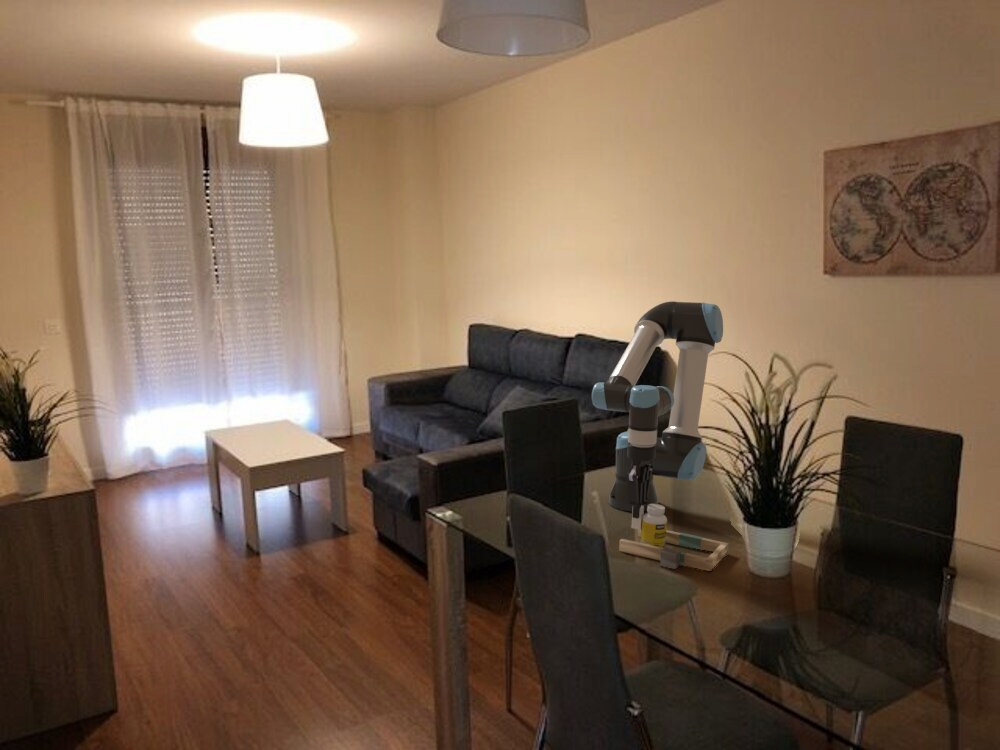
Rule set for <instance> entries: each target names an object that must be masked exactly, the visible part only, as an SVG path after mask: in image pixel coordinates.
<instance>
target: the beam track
mask: <svg viewBox="0 0 1000 750" xmlns="http://www.w3.org/2000/svg"><path fill="white" fill-rule="evenodd" d="M641 530H642V529H641ZM641 530H638V529H637V537H639V538H641ZM665 544H671V545H675V546H679V547H684V548H688V547H689V549H693V548H696V549H695V550H697V549H701V550H700V551H702V550H708V551H714V552H713V553H710V554H709V555H708V557H705V556H701V555H698V554H693V553H688V552H685V551H681V550H677V549H673V548H668V547H664V548H662V547H657V546H653V545H648V544H644V543H640V542H638V541H635V540H630V539H626V538H620V539H619V544H618V545H619V546H618V549H619V550H618V551H619V552H622V553H627V554H629V555H630V554H631V555H635V556H639V557H643V558H648V559H652V560H656V561H660V563H659V565H660V567H661V566H663V567H662V568H665V567H671V568H674V569H675V568H676V567H678V566H679V565H680V566H681V565H685V566H684V567H686V566H689V567H688V568H690V567H696V568H701V569H702V568H703V569H709V570H711V569H712V568H714V566H716V564H717V563H718V562H719V561H720V560H721V559H722V557H723V556H724V555H725V553H726V552H727V551H728V552H729V542H728V543H727V542H724V541H722V540H721V541H720V540H719V541H718V540H714V539H711V538H707V537H702V536H699V535H693V534H689V533H685V532H676V531H672V530H668V529H666V537H665ZM680 566H679V567H680ZM679 567H678V568H679ZM716 567H717V566H716ZM714 569H715V568H714Z"/></svg>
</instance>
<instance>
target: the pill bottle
mask: <svg viewBox="0 0 1000 750" xmlns="http://www.w3.org/2000/svg"><path fill="white" fill-rule="evenodd" d="M665 512H666V507H665V506H664V505H662V504H659V503H658V504H649V505H648V506H647V511H646V513H645V514H644V516H643V520H642V530H641V537H640V542H639V543H644V544H648V545H653V546H657V547H662V548H665V545H666V542H665V537H666V530H667V525H668V519H667V516H666V515H665Z"/></svg>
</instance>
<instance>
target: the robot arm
mask: <svg viewBox="0 0 1000 750" xmlns="http://www.w3.org/2000/svg"><path fill="white" fill-rule="evenodd" d="M633 333H634V334H633V336H632V338H631V339H630V342H629V343H628V345H627V347H626V349H624V352H623V353H622V355H621V357H620V359H619V360H618V362H617V364H616V366H615V367H614V369H613V371H612V372H611V374H610V375H609V378H608V379H607V381H606V382H604V381H603V382H599V381H598V382H596V383H595V384H594V385H593V388H592V391H591V401H592V405H593V406H594V407H595V408H596V409H601V410H606V411H613V412H621V413H623V412H624V413H629V415H628V429H627V431H624V432H621V433H620V434H618V436H617V437H616V446H615V475H614V476H615V479H614V482H613V485H612V488H611V490H610V493H609V495H608V496H609V498H608V504H609V505H610V506H611V507H613V508H615V509H617V510H621V511H625V512H631V524H630V525H631V527H630V528H631V529H634V530H637V531H638V530H641V529H642V520H643V516H644V512H648V511H647V506H648V505H649V504H659V496H658V493H657V490H656V485H655V483H654V476H656V477H661V478H669V479H673V480H678V481H695V480H696V479H697V478H698V477H699V476H700V474H701V473H702V470H703V468H704V465H705V461H706V456H707V446H706V444H705V443H704V442H702V437H703V436H701V435H700V433H699V432H698V431H699V430H698V429H699V423H700V422H699V420H700V414H701V408H702V401H703V395H704V394H703V393H704V388H705V387H704V386H705V380H706V373H707V366H708V365H707V364H708V359H709V354H710V353H711V352H712V351H714V350H715V345H716V344H718V343H720V342H722V340H723V336H724V335H723V334H724V321H723V313H722V311H721V309H720V307H719V306H718V305H717V304H714V303H709V302H708V303H706V302H689V301H688V302H684V301H675V300H674V301H672V300H671V301H665V302H661V303H659V304H658V305H655V306H654V307H652V308H650V309H648V311H647V312H645V313H644V314H643V315H642V316H641V317H640V318H639V320H638V321H637V322H636V324H635V326H634V329H633ZM668 339H669V340H670V339H671V340H675V346H676V347H677V348H678V349H679V352H678V359H677V366H676V367H677V368H676V375H675V379H674V380H675V381H674V388H673V391H672V390H671V389H670V388H668V387H666V386H662V385H661V386H653V385H648V384H647V385H646V384H645V385H644V384H640V385H636V384H637V383H638V380H639V379H640V376H642V373H643V371H644V369H645V368H646V366H647V364H648V363H649V360H650V359H651V356H652V355H653V353H654V351H655V350H656V348H657V346H659V345H661V344H662V343H663V341H664V340H668ZM669 411H670V416H669V422H668V426H667V428H665V429H664V430H663V431H662V433H661V437H658V421H659V419H658V418H659V417H660V416H663V415H665V414H667V413H668V412H669Z"/></svg>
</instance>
